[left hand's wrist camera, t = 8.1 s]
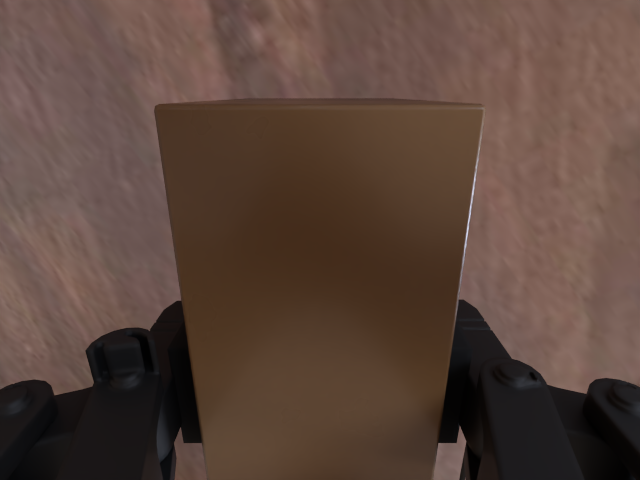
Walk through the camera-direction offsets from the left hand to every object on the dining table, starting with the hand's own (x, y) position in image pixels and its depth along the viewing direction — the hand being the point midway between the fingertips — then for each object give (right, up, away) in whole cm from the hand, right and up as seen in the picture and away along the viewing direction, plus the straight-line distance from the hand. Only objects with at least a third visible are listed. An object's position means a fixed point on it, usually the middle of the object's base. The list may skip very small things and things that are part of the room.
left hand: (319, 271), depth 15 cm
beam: (0, -18, +7) cm, 19 cm away
